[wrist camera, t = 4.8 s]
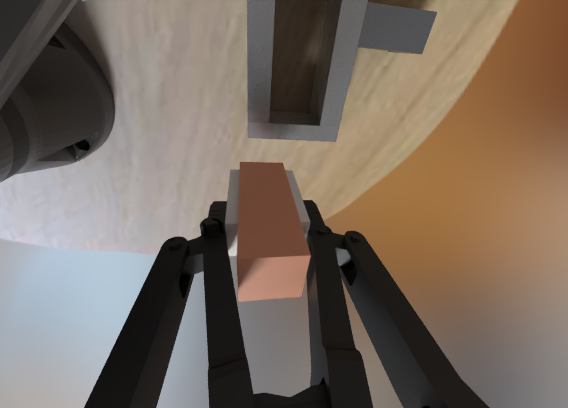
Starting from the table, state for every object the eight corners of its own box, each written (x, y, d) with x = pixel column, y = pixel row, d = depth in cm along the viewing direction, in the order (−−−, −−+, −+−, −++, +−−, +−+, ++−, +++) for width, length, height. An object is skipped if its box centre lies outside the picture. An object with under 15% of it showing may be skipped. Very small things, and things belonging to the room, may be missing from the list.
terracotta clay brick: (240, 197, 20) (238, 301, 12) (240, 161, 18) (236, 259, 10) (279, 197, 21) (301, 296, 13) (282, 162, 19) (310, 255, 11)
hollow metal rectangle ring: (247, 123, 26) (247, 137, 22) (247, -168, 15) (246, -244, 11) (372, 129, 28) (393, 144, 24) (449, -117, 17) (509, -164, 13)
